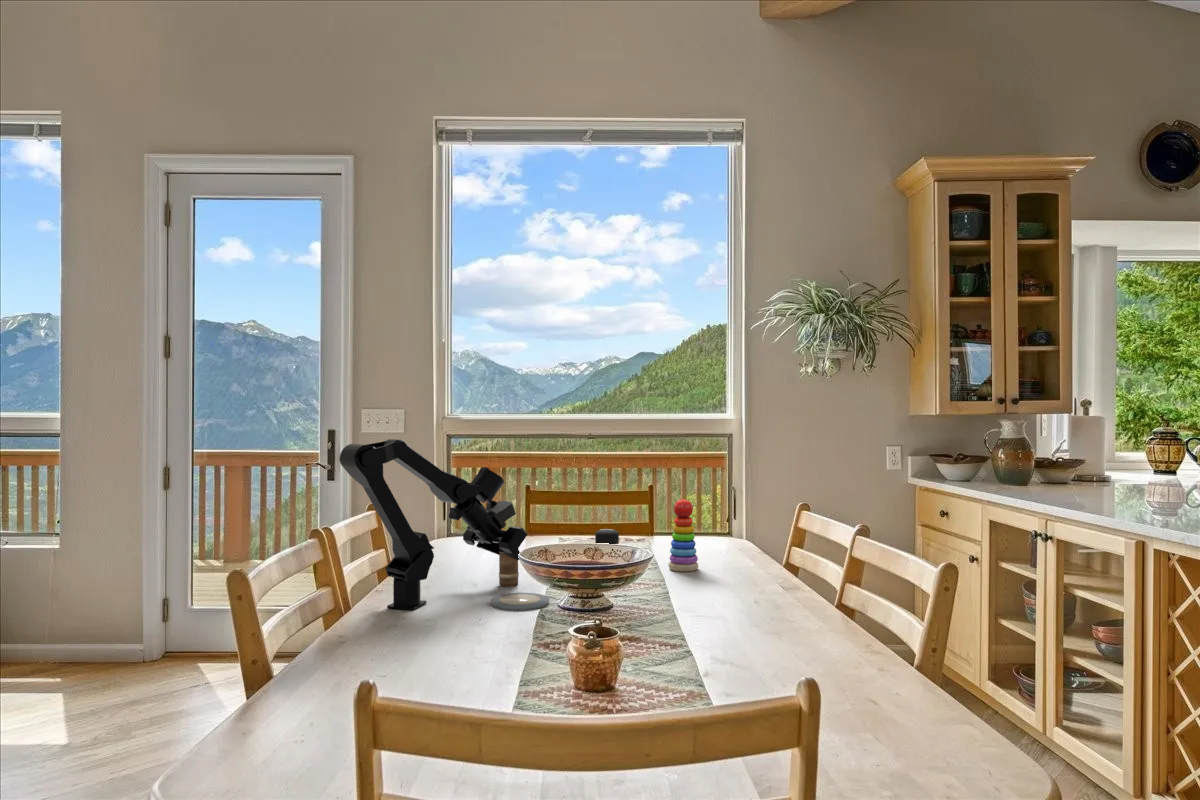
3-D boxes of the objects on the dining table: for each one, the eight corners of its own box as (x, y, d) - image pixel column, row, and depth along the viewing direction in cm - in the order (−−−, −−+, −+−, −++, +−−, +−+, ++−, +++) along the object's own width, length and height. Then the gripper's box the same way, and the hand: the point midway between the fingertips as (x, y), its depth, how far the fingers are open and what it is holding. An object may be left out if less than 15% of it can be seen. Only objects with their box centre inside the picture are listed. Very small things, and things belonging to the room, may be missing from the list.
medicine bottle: (620, 580, 204) (620, 532, 204) (592, 579, 204) (592, 532, 204) (620, 573, 211) (620, 527, 211) (593, 573, 211) (593, 527, 211)
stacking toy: (663, 567, 219) (663, 498, 219) (688, 565, 222) (688, 496, 222) (677, 573, 212) (677, 501, 211) (704, 570, 215) (704, 500, 215)
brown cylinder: (514, 587, 196) (514, 542, 196) (495, 586, 197) (495, 541, 197) (521, 583, 200) (521, 538, 200) (503, 582, 202) (503, 537, 201)
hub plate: (537, 612, 173) (537, 608, 173) (481, 608, 176) (481, 604, 176) (556, 598, 185) (556, 594, 185) (503, 594, 189) (503, 590, 189)
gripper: (521, 494, 189) (555, 535, 197) (472, 488, 202) (507, 527, 210) (494, 531, 184) (531, 573, 191) (446, 523, 197) (482, 561, 205)
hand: (513, 557), depth 200 cm, fingers closed on brown cylinder, 5 cm apart
